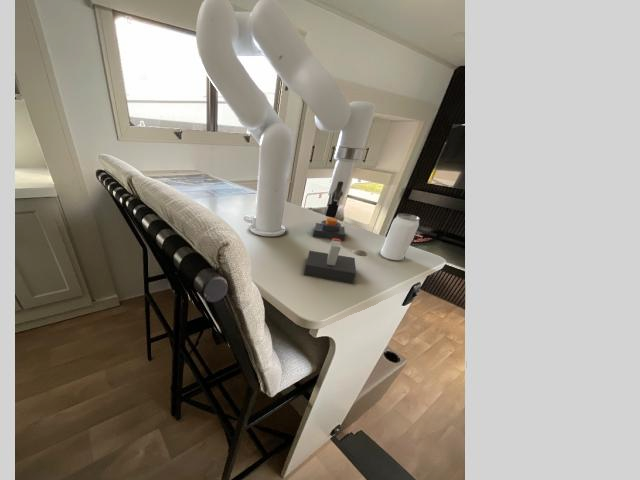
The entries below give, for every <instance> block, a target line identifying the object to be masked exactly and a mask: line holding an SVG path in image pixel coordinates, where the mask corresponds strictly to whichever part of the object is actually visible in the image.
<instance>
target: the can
mask: <svg viewBox="0 0 640 480" xmlns="http://www.w3.org/2000/svg"><path fill="white" fill-rule="evenodd" d="M420 220H421V218H420V217H419V216H417V215H415V214H410V213H397V215H396V217H394V219H393V220H392V223H391V225H390V227H389V230H388V232H387V235H386V237H385V240H384V242H383V245H382V247H381V250H380V255H381V257H383V258H384V259H386V260H389V261H395V262H400V261H402V260H404V258H405V256H406V254H407V252H408V251H409V248H410V246H411V244H412V242H413V239H414V237H415V235H416V233H417V231H418V229H419V226H420Z"/></svg>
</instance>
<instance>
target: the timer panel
mask: <svg viewBox="0 0 640 480" xmlns="http://www.w3.org/2000/svg"><path fill="white" fill-rule="evenodd" d="M328 253H329V252H328ZM328 253H326V252H321V251H316V250H315V251H314V250H309V251H308V255H307V259H306V263H305V267H304V272H303V275H304V276H309V277H314V278H318V279H325V280H330V281H335V282H341V283H346V284H352V285H353V284H354V281H355V278H356V275H357V268H356V258H355V257H351V256H345V255H339V254H338V257H337V261H336V264H335V266H334V265H328V264H327V258H328Z"/></svg>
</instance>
